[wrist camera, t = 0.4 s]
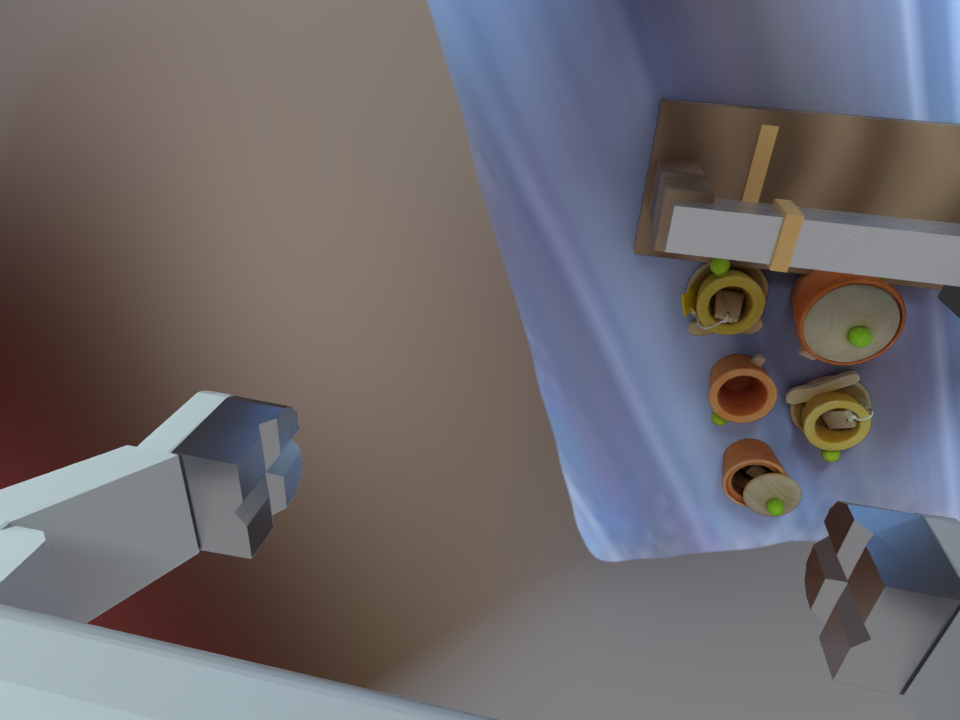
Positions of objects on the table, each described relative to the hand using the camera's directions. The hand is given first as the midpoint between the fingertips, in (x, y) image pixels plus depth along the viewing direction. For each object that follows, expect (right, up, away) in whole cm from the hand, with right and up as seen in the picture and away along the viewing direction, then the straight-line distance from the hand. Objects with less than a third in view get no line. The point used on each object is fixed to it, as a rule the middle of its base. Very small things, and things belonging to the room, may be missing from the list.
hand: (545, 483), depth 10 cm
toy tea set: (+27, +1, +48) cm, 55 cm away
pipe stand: (+27, +15, +40) cm, 50 cm away
